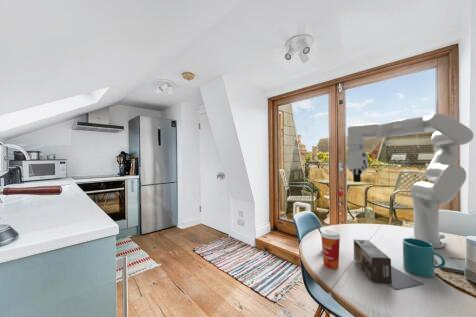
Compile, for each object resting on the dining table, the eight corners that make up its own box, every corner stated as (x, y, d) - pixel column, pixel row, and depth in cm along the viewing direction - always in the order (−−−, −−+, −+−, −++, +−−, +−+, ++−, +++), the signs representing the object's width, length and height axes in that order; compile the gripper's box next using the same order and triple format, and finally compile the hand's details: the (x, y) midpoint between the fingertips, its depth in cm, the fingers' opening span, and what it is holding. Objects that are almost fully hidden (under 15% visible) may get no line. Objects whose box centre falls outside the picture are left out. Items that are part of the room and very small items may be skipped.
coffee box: (369, 260, 85) (392, 284, 69) (353, 259, 86) (372, 283, 70) (369, 239, 85) (391, 259, 69) (353, 238, 86) (371, 258, 70)
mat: (379, 260, 86) (379, 259, 86) (423, 284, 69) (423, 283, 69) (356, 263, 83) (356, 263, 83) (396, 289, 67) (396, 288, 67)
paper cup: (317, 261, 86) (317, 229, 86) (334, 260, 87) (333, 228, 87) (327, 271, 78) (326, 236, 78) (345, 270, 79) (344, 235, 79)
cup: (447, 284, 69) (447, 252, 69) (403, 272, 77) (402, 243, 77) (443, 272, 76) (443, 243, 76) (403, 262, 83) (402, 236, 83)
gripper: (374, 147, 100) (375, 183, 100) (351, 148, 114) (352, 180, 114) (361, 147, 98) (362, 183, 98) (340, 149, 113) (341, 180, 113)
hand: (357, 181), depth 106 cm, fingers closed
